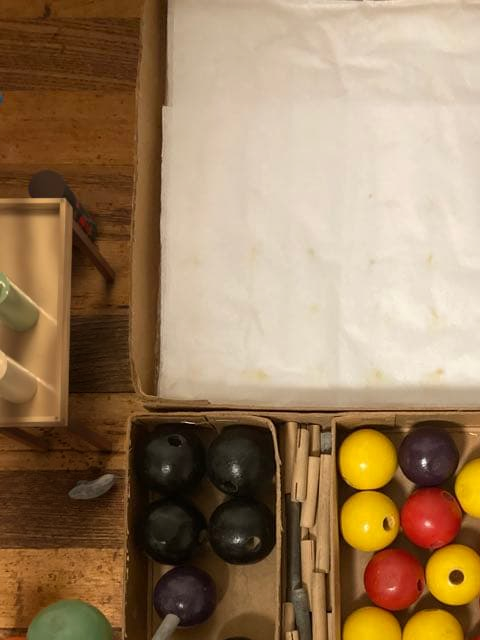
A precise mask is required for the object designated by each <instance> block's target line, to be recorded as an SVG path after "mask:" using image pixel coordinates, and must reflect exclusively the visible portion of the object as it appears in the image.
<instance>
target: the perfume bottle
mask: <svg viewBox="0 0 480 640" xmlns="http://www.w3.org/2000/svg"><path fill="white" fill-rule="evenodd" d="M3 103H5V100H4V98H3V96H2V93H1V92H0V104H3Z"/></svg>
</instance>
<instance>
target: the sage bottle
mask: <svg viewBox="0 0 480 640" xmlns="http://www.w3.org/2000/svg"><path fill="white" fill-rule="evenodd" d="M38 318H39V308H38V305H37V303H36V302H35V301H34V300H33V299H32V298H31V297H30V296H29V295H27V294H26V293H25V292H24V291H23V290H22V289H21V288H20V287H19V286H17V285H16V284H15V283H14V282H13V281H12V280H11V279H10V278H9V277H7V276H6V275H5V274H4V273H3V272H2V271H0V322H1V323H3V324H4V325H5V326H7V327H8V328H9V329H11V330H13V331H18V332H22V331H26V330H29V329H30V328H32V327H33V326H34V325H35V324H36V323H37V321H38Z"/></svg>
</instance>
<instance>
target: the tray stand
mask: <svg viewBox="0 0 480 640" xmlns="http://www.w3.org/2000/svg"><path fill="white" fill-rule="evenodd" d="M72 217H73V208H72V206H71V205H70V204H69V202H68V201H67V200H66V198H31V197H29V198H25V197H22V198H20V197H19V198H15V197H14V198H11V197H10V198H7V197H6V198H0V271H2V272H3V273H4V274H5V275H6V276H7V277H9V278H10V279H11V280H12V281H13V282H14V283H15V284H16V285H17V286H19V287H20V288H21V289H22V290H23V291H24V292H25V293H26V294H27V295H29V296H30V297H31V298H32V299H33V300H34V301H35V302H36V303H37V305H38V308H39V318H38V321H37V323H36V324H35V325H34V326H33V327H32V328H30V329H29V330H26V331H22V332H18V331H13V330H11V329H9V328H8V327H7V326H5V325H4V324H3V323H1V322H0V350H1V351H3V352H4V353H6V354H7V355H8V356H10V357H11V358H13V359H14V360H16V361H17V362H19V363H20V364H21V365H23V366H24V367H26V368H27V369H29V370H30V371H31V372H32V373H33V374H34V375H35V377H36V380H37V390H36V393H35V395H34V396H33V397H32V398H31V399H30V400H29V401H27V402H25V403H21V404H14V403H10V402H8V401H6V400H5V399H3V398H1V397H0V434H1V435H3V436H5V437H7V438H9V439H11V440H13V441H15V442H18V443H19V444H22V445H24V446H26V447H28V448H30V449H32V450H34V451H35V452H38V453H49V442H47V441H45V440H43V439H42V438H39V437H37V436H36V435H34V434H32V433H31V432H28V431H26V430H24V429H22V427H23V428H26V427H28V428H30V427H31V428H32V427H33V428H34V427H35V428H37V427H60V428H62V429H64V430H66V431H67V432H68V433H70V434H72V435H74V436H76V437H77V438H79V439H81V440H83V441H84V442H86V443H88V444H89V445H91V446H92V447H95V448H96V449H97V450H100V451H101V452H112V444H113V442H111V441H110V440H109V439H107V438H105V437H104V436H103V435H101V434H99V433H98V432H96V431H95V430H93V429H91V427H88V426H87V425H85V424H83V423H82V422H80V421H79V420H78V419H76V418H75V417H73V416H71V415H70V414H69V383H70V382H69V381H70V380H69V379H70V377H69V376H70V341H71V340H70V338H71V336H70V335H71V297H72V296H71V295H72V258H73V257H72V255H73V245H72V240H73V241H74V243H75V244H76V245H77V246H76V247H77V248H78V249H79V250H80V251H81V252H82V253H83V255H84V256H85V257H86V259H88V261H89V262H90V264H92V266H93V267H94V268H95V269H96V270H97V271H98V273H99V274H100V275H101V276H102V277H103V279H104V280H105V281H115V280H116V272H115V270H114V268H113V267H112V266H111V265H110V264H109V262H108V261H107V259H106V258H105V257H104V256H103V255H102V253H101V252H100V251H99V250H98V249H97V247H96V245H94V243H93V241H92V242H91V241H90V240H89V238H88V237H87V236H86V234H85V233H84V232H83V231H82V229H81V228H80V227H79V226H78V224H77V223H76V222H75V221H74V219H73V218H72Z"/></svg>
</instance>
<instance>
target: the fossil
mask: <svg viewBox="0 0 480 640" xmlns="http://www.w3.org/2000/svg"><path fill="white" fill-rule="evenodd" d="M116 480H117V478H116V476H115V475H114V474H112V473H111V474H110V473H107V474H104V475H102V476H100V477H98V478H97V479H94V480H90V481H88V480H85V479H82V480H78V481H76V486H75V487H74V488H72V489H71V490H70V491H69V492H68V496H69V497H70V498H72V499H75V500H90V499H94V498H97V497H99V496H102V495H103V494H105V493H107V492H108V491H109V490H110V489H111V488H112V487H113V486H114V484H115V482H116Z"/></svg>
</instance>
